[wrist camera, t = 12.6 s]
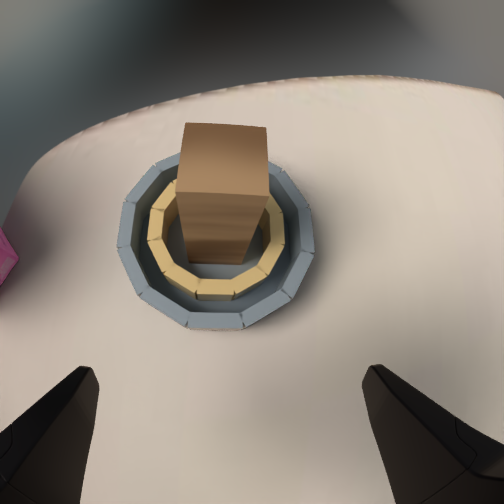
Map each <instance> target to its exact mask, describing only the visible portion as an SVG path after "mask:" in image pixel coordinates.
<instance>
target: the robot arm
mask: <svg viewBox="0 0 504 504" xmlns="http://www.w3.org/2000/svg"><path fill="white" fill-rule="evenodd" d="M362 389H363V393H364V398H365V402H366V406H367V411H368V415H369V420H370V424H371V427H372V430H373V433H374V436H375V439H376V442H377V445H378V448H379V451H380V454H381V457H382V460H383V463H384V466H385V470H386V473H387V476H388V479H389V482H390V486H391V489H392V492H393V496H394V499H395V503H396V504H504V444H502V443H500V442H498V441H496V440H494V439H492V438H490V437H488V436H486V435H484V434H483V433H481V432H479V431H477V430H476V429H474V428H472V427H471V426H469V425H468V424H466V423H464V422H463V421H461V420H460V419H459V418H457V417H454V415H453V414H451V413H450V412H448V411H447V410H446V409H444V408H443V407H441V406H440V405H438V404H437V403H435V402H434V401H433V400H431V399H430V398H428V397H427V396H426V395H424V394H423V393H421V392H420V391H418V390H417V389H416V388H414V387H413V386H411V385H410V384H409V383H407V382H406V381H404V380H403V379H401V378H400V377H399V376H397V375H396V374H394V373H393V372H392V371H390V370H389V369H387V368H386V367H385V366H383V365H381V364H376V365H371V366H370V367H369V368H368V370H367V372H366V374H365V377H364V379H363V381H362ZM98 395H99V383H98V381H97V378H96V376H95V374H94V371H93V369H92V368H91V367H87V366H79V367H78V368H76V369H75V370H74V371H73V372H72V373H70V374H69V375H68V376H67V377H66V378H64V379H63V380H62V381H61V382H60V383H58V384H57V385H56V386H55V387H54V388H52V389H51V390H50V391H49V392H48V393H46V394H45V395H44V396H43V397H42V398H41V399H39V400H38V401H37V402H36V403H35V404H33V405H32V406H31V407H30V408H29V409H28V410H26V411H25V412H24V413H23V414H22V415H21V416H19V417H18V418H17V419H16V420H15V421H14V422H12V424H10V425H9V426H8V427H7V428H5V429H4V430H3V431H2V432H1V433H0V504H80V498H81V492H82V486H83V480H84V474H85V469H86V463H87V458H88V454H89V449H90V444H91V440H92V435H93V431H94V425H95V417H96V409H97V402H98Z"/></svg>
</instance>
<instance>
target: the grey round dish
mask: <svg viewBox="0 0 504 504" xmlns="http://www.w3.org/2000/svg"><path fill="white" fill-rule="evenodd" d="M180 153H181V152H180ZM180 153H178V154H175V155H173V156H171V157H168V158H166V159H164V160H161V161H159V162H157V163H155V164H156V166H154V165H152V167H151V168H150V169H149V170H148V171H147V172H146V174H145V175H144V176H143V177H142V178H141V180H140V181H139V182H138V183H137V184H136V186H135V187H134V188H133V189H132V191H131V192H130V193H129V194H128V196H127V197H126V198H125V200H126V202H123V208H122V214H121V220H120V226H119V233H118V240H117V248H118V250H117V251H118V253H119V256H120V258H121V261H122V263H123V265H124V267H125V270H126V272H127V274H128V276H129V279H130V281H131V283H132V285H133V287H134V289H135V292H136V294H137V295H138V296H139V298H141V299H142V300H143V301H145V302H146V303H148V304H149V305H151V306H152V307H154V308H155V309H157V310H158V311H160V312H161V313H163V314H164V315H166V316H168V317H169V318H171V319H172V320H174V321H175V322H177V323H179V324H180V325H182V326H184V327H185V328H187V329H188V328H189V329H190V330H212V331H218V330H240V329H244V328H246V327H248V326H249V325H251V324H253V323H254V322H256V321H258V320H260V319H261V318H263V317H265V316H266V315H268V314H270V313H271V312H273V311H274V310H276V309H278V308H279V307H281V306H283V305H284V304H286V303H288V302H289V301H291V300H290V299H292V298H293V297H294V295H295V293H296V291H297V289H298V287H299V285H300V283H301V281H302V279H303V277H304V275H305V273H306V271H307V269H308V267H309V265H310V263H311V261H312V259H313V257H314V255H313V254H314V253H315V249H314V238H313V228H312V218H311V209H310V208H308V207H309V204H308V203H307V202H306V200H305V199H304V197H303V196H302V194H301V193H300V192H299V190H298V189H297V187H296V186H295V185H294V183H293V182H292V180H291V179H290V178H289V176H288V175H287V173H286V172H285V171H282V172H281V170H282V168H280V167H278V166H276V165H275V164H273V163H271V162H269V161H268V173H269V199H268V201H267V203H266V206H265V208H264V211H263V213H262V215H261V218H260V220H259V223H258V225H257V227H256V230H255V232H254V235H253V237H252V239H251V242H250V244H249V247H248V249H247V251H246V254H245V256H244V259H243V261H242V263H241V265H219V264H191V263H189V261H188V256H187V251H186V247H185V242H184V237H183V232H182V227H181V221H180V216H179V211H178V205H177V200H176V194H175V188H176V181H177V173H178V166H179V159H180Z"/></svg>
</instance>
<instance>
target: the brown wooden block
mask: <svg viewBox="0 0 504 504" xmlns="http://www.w3.org/2000/svg"><path fill="white" fill-rule="evenodd" d="M175 194H176V200H177V205H178V211H179V216H180V221H181V227H182V232H183V237H184V242H185V247H186V251H187V256H188V261H189V263H191V264H219V265H241V263H242V261H243V259H244V256H245V254H246V251H247V249H248V247H249V244H250V242H251V239H252V237H253V235H254V232H255V230H256V227H257V225H258V223H259V220H260V218H261V215H262V213H263V211H264V208H265V206H266V203H267V201H268V199H269V173H268V152H267V133H266V128H265V127H255V126H243V125H230V124H212V123H185V128H184V134H183V140H182V146H181V153H180V159H179V166H178V173H177V181H176V188H175Z"/></svg>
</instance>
